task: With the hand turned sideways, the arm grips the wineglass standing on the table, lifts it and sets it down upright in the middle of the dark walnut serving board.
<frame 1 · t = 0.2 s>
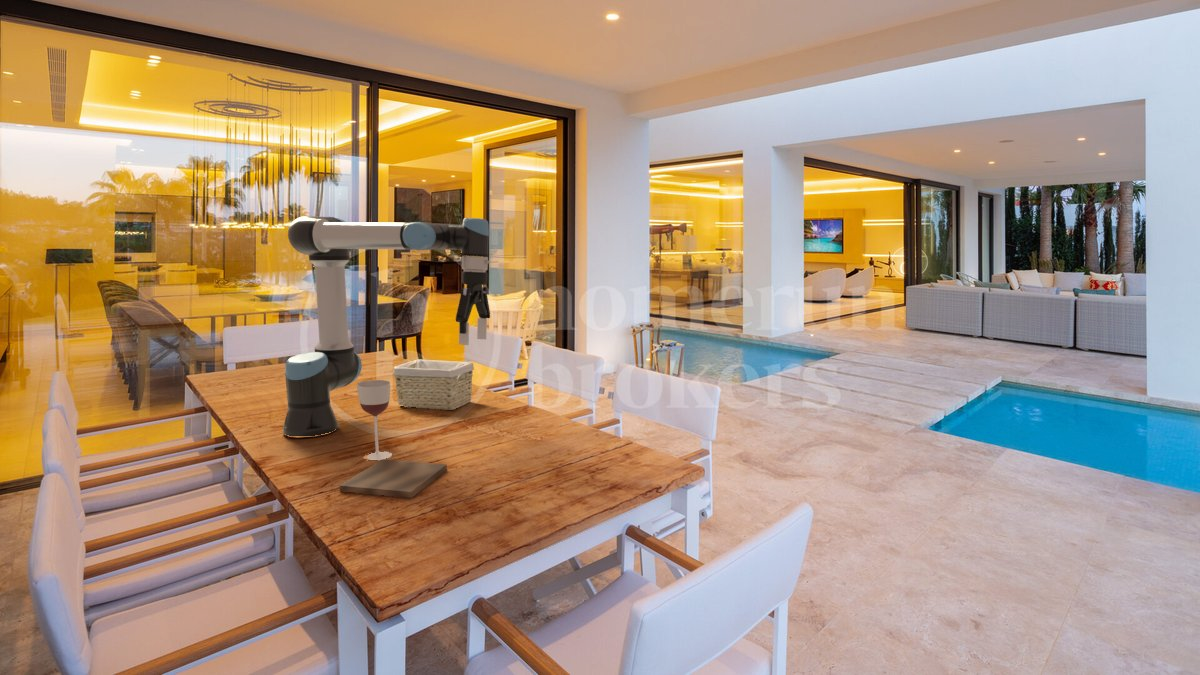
hand: (473, 341, 188), 27 cm above the table, tool pointing down, fingers open, 13 cm apart
wineglass: (377, 456, 168), on the table
walnut board: (395, 480, 151), on the table
storage basket: (435, 405, 223), on the table
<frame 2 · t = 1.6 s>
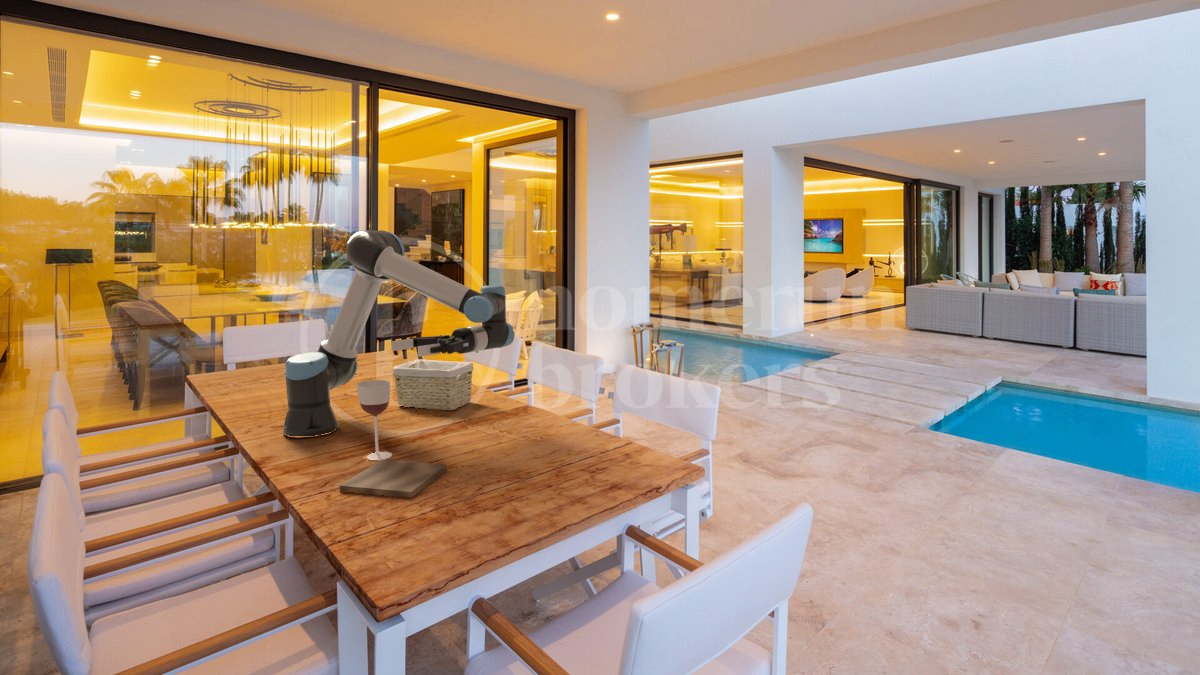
hand: (404, 348, 171), 28 cm above the table, tool horizontal, fingers open, 13 cm apart
nothing on the table moved.
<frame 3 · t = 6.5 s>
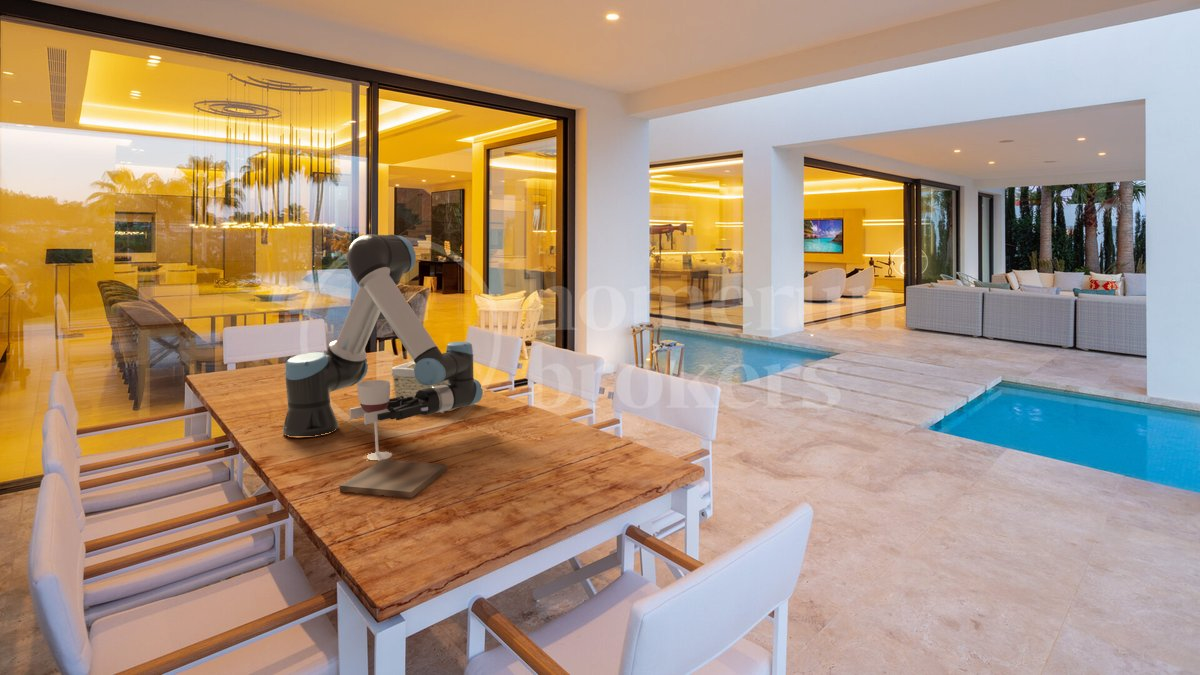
hand: (357, 416, 163), 12 cm above the table, tool horizontal, fingers closed on wineglass, 7 cm apart
wineglass: (377, 456, 168), on the table, touching gripper
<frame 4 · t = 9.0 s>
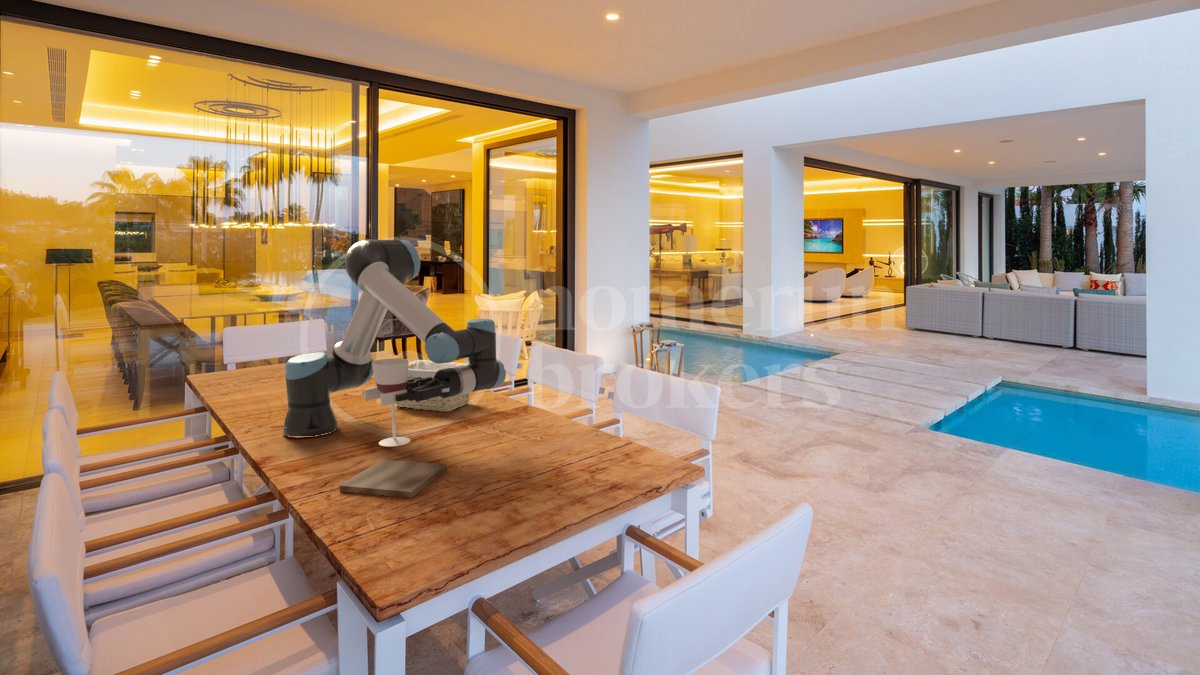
hand: (373, 397, 148), 21 cm above the table, tool horizontal, fingers closed on wineglass, 7 cm apart
wineglass: (394, 442, 153), point 8 cm above the table, touching gripper
when the fingers open (14 cm above the table, at t = 11.5 s): wineglass moves 3 cm, resting on walnut board.
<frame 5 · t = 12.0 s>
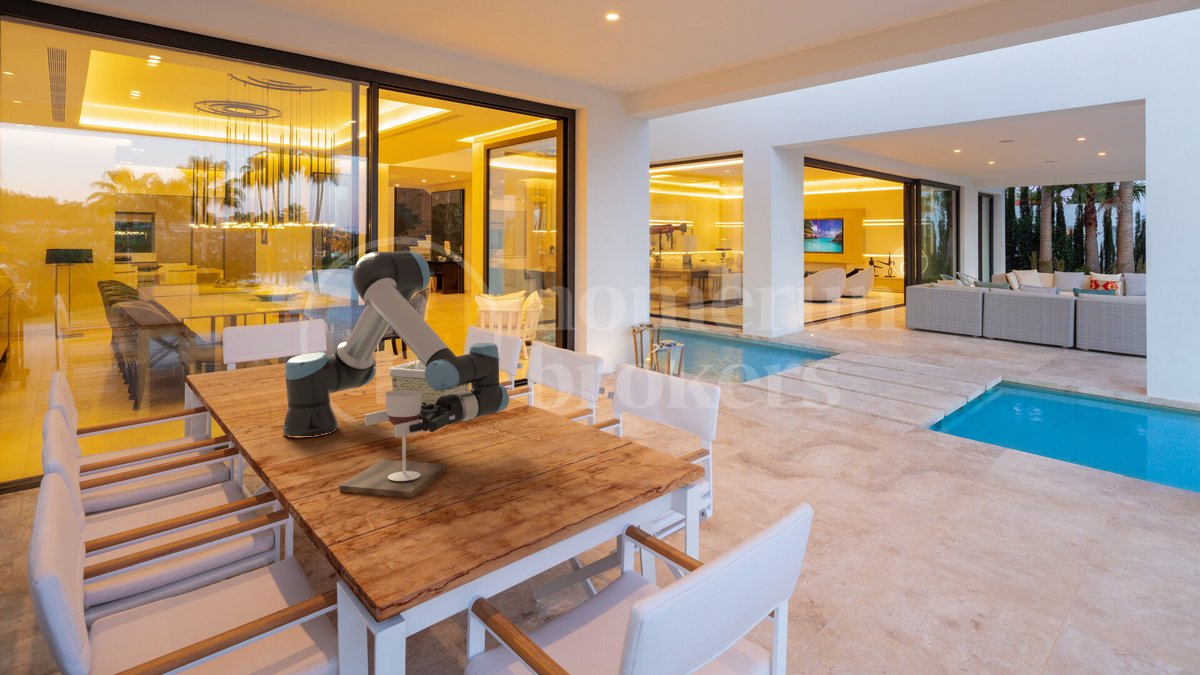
hand: (379, 425, 146), 14 cm above the table, tool horizontal, fingers open, 13 cm apart
wineglass: (404, 476, 149), point 2 cm above the table, touching gripper, walnut board
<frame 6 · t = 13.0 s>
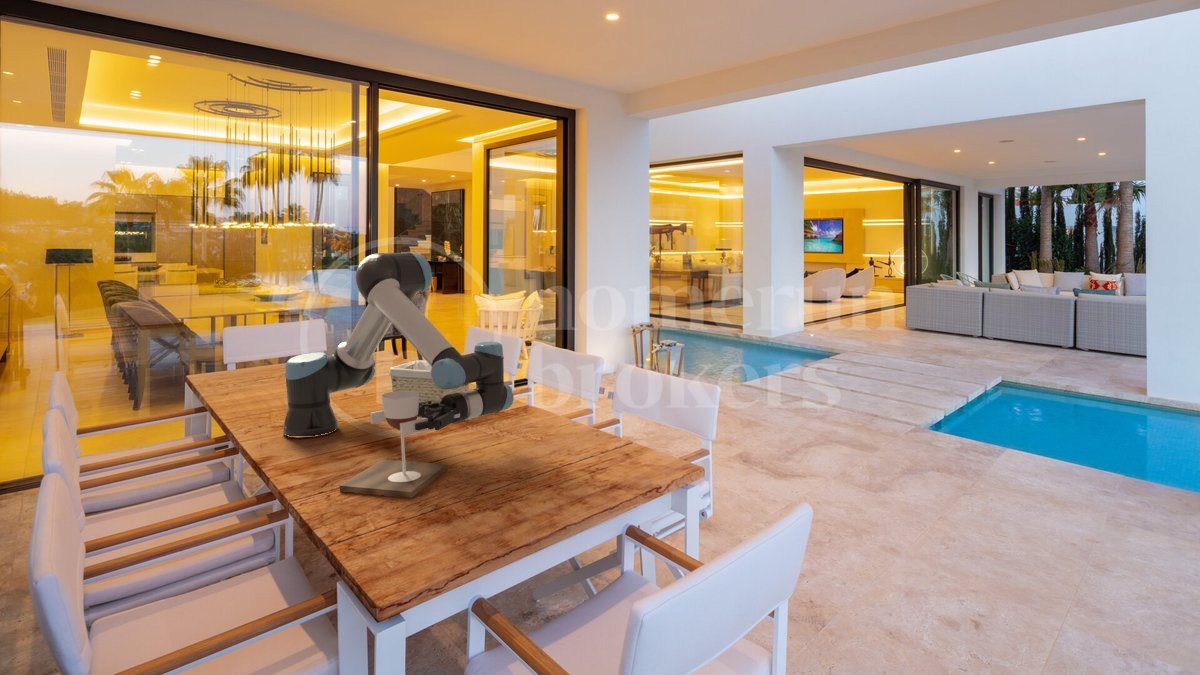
hand: (385, 423, 147), 15 cm above the table, tool horizontal, fingers open, 13 cm apart
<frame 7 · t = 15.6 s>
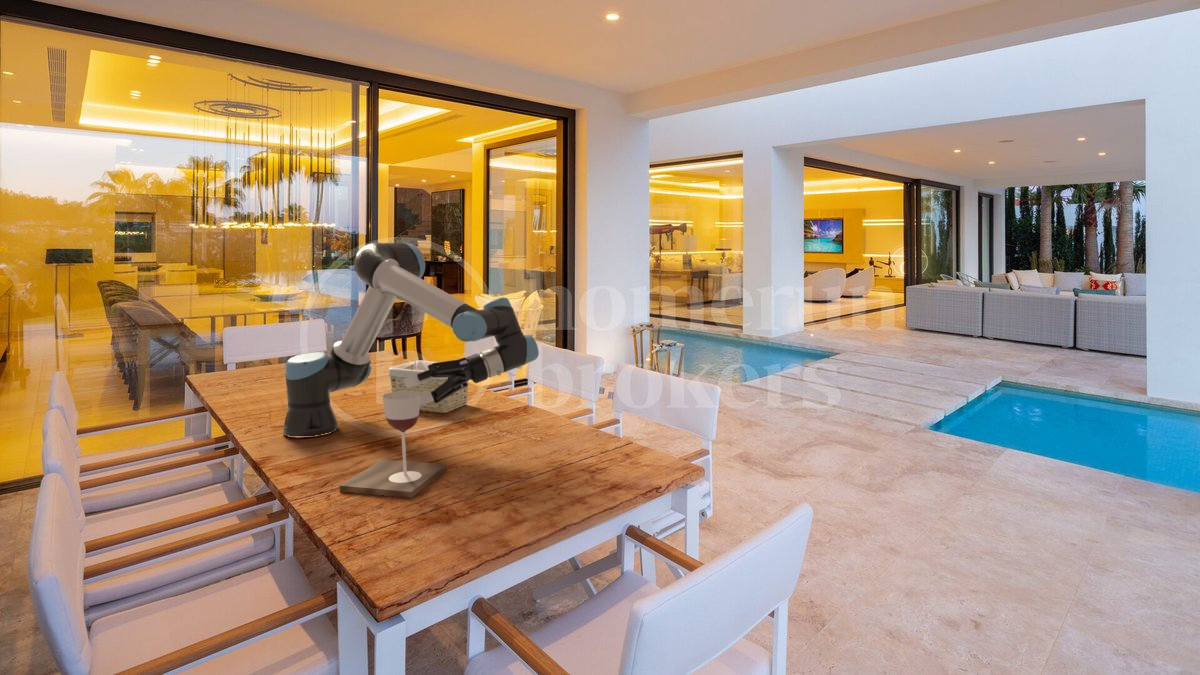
hand: (406, 394, 161), 18 cm above the table, tool tilted 75°, fingers open, 13 cm apart
wineglass: (405, 477, 149), point 1 cm above the table, touching walnut board
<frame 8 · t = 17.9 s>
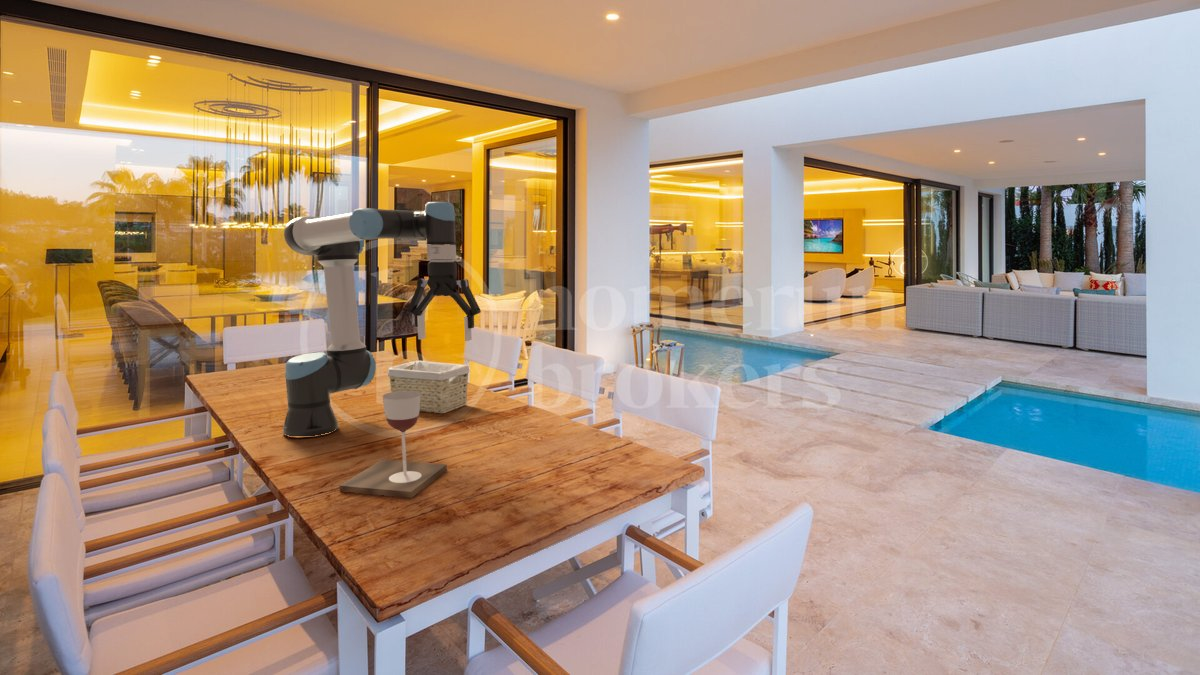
hand: (444, 339, 170), 31 cm above the table, tool pointing down, fingers open, 13 cm apart
at the end: wineglass inside the target area on the walnut board (3.2 cm from its centre), point 1.3 cm above the walnut board's base; wineglass tilted 0°; the gripper is holding nothing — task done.
